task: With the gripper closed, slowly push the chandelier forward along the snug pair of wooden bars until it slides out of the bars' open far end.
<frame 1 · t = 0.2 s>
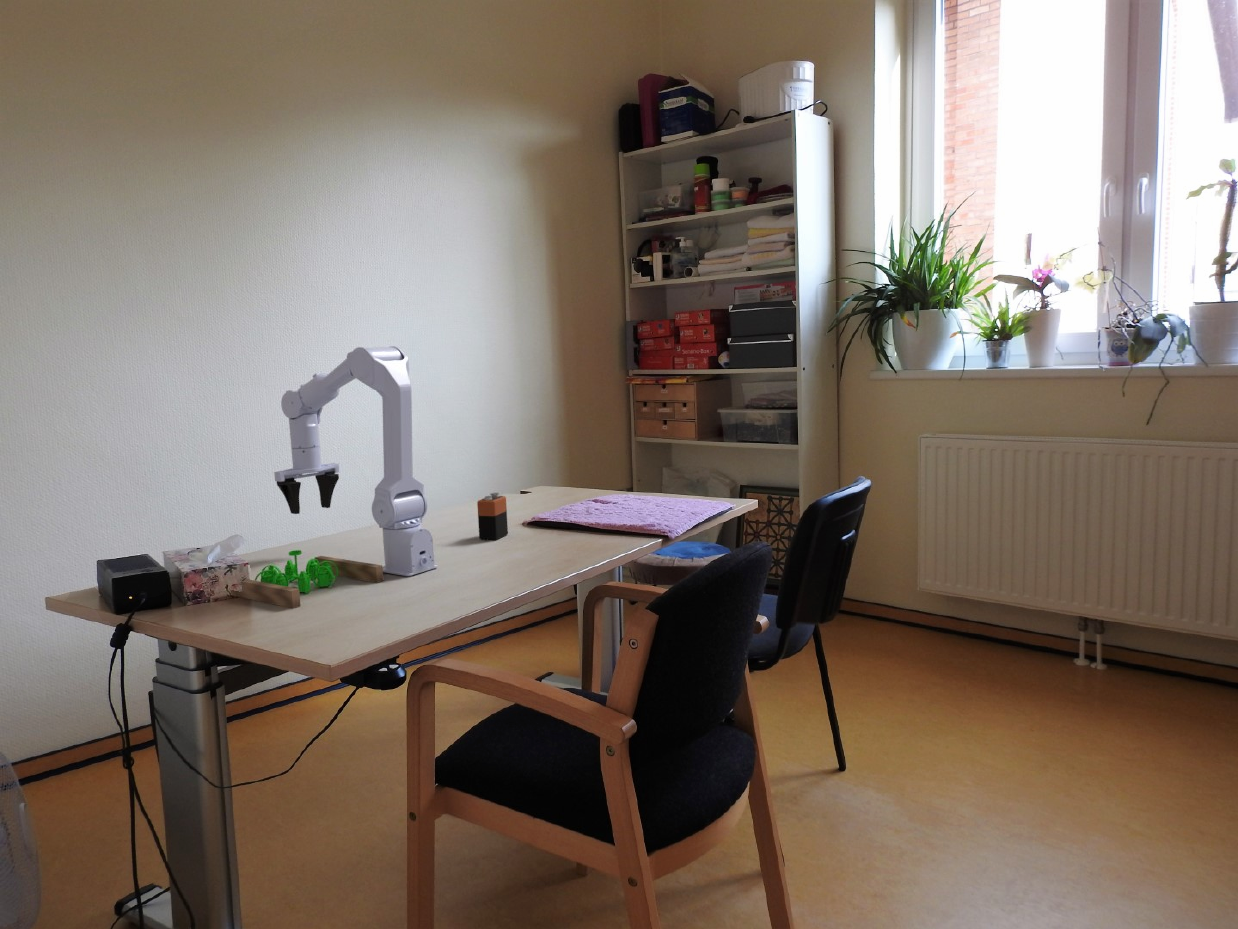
hand: (310, 510, 192), 10 cm above the table, fingers open, 7 cm apart
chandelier: (298, 588, 169), on the table
battery: (493, 538, 206), on the table
pair of wooden bars: (308, 587, 167), on the table
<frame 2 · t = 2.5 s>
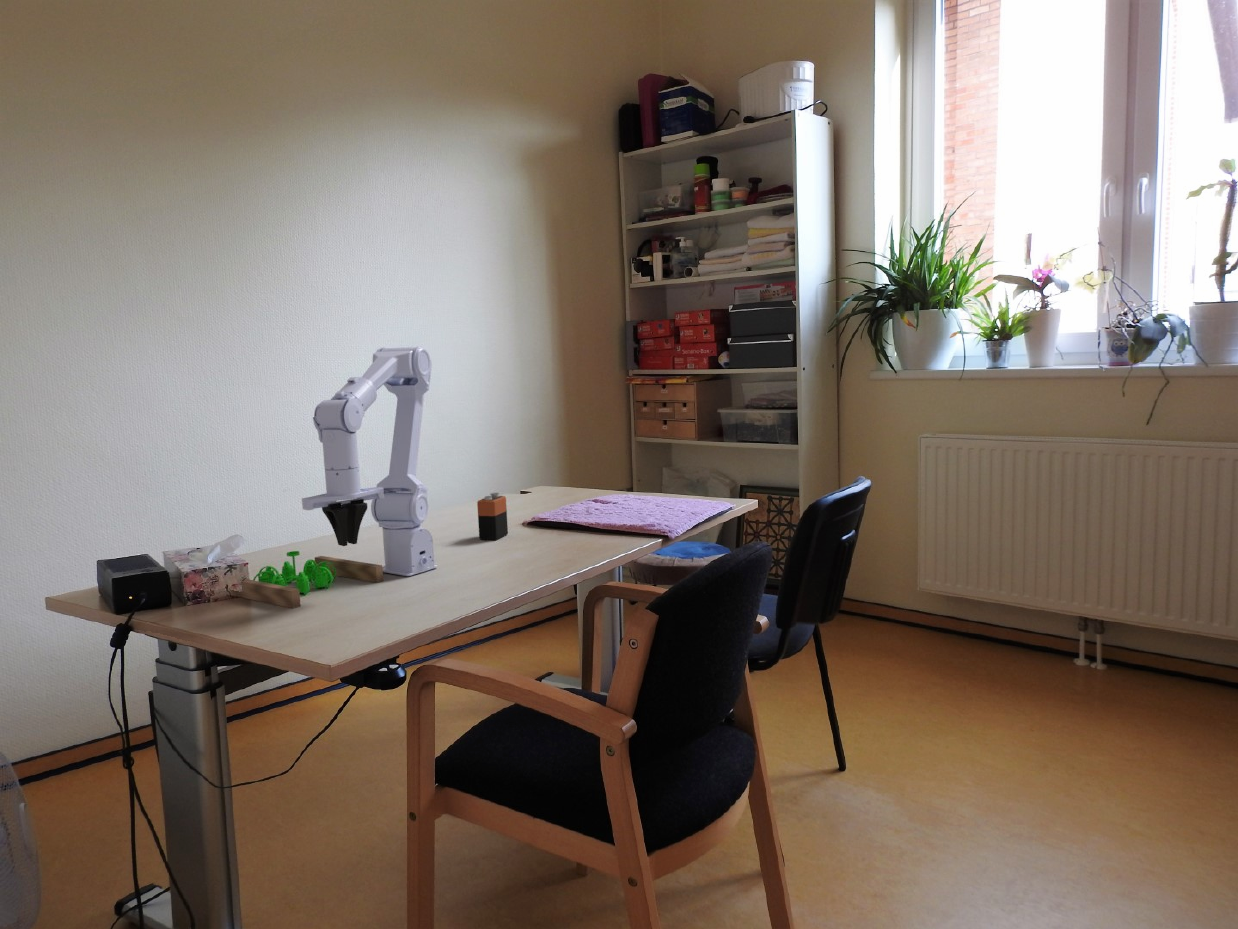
hand: (347, 544, 159), 9 cm above the table, fingers closed
nothing on the table moved.
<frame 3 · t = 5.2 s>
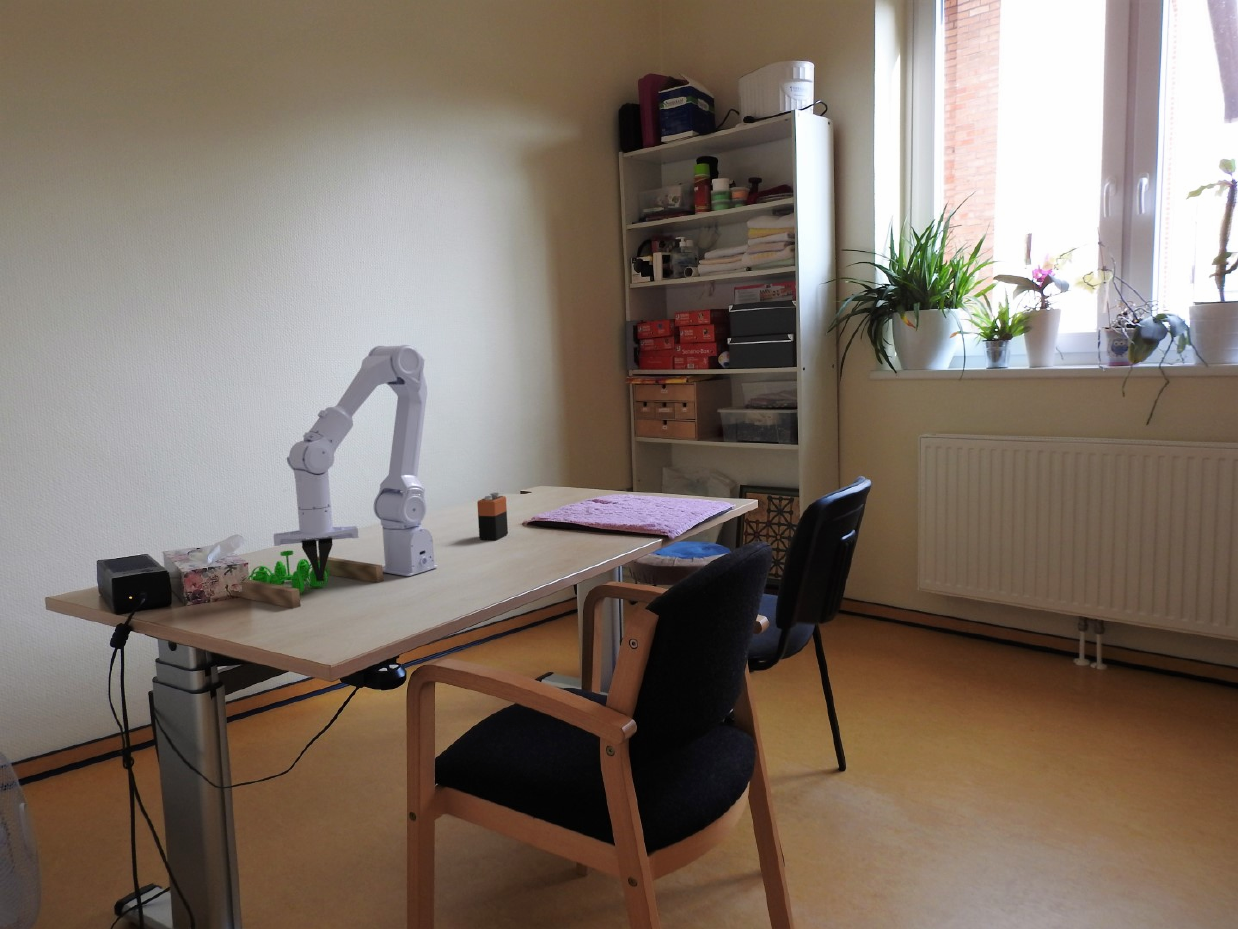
hand: (320, 580, 165), 2 cm above the table, fingers closed
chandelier: (290, 589, 168), on the table, touching gripper
everything else where it was.
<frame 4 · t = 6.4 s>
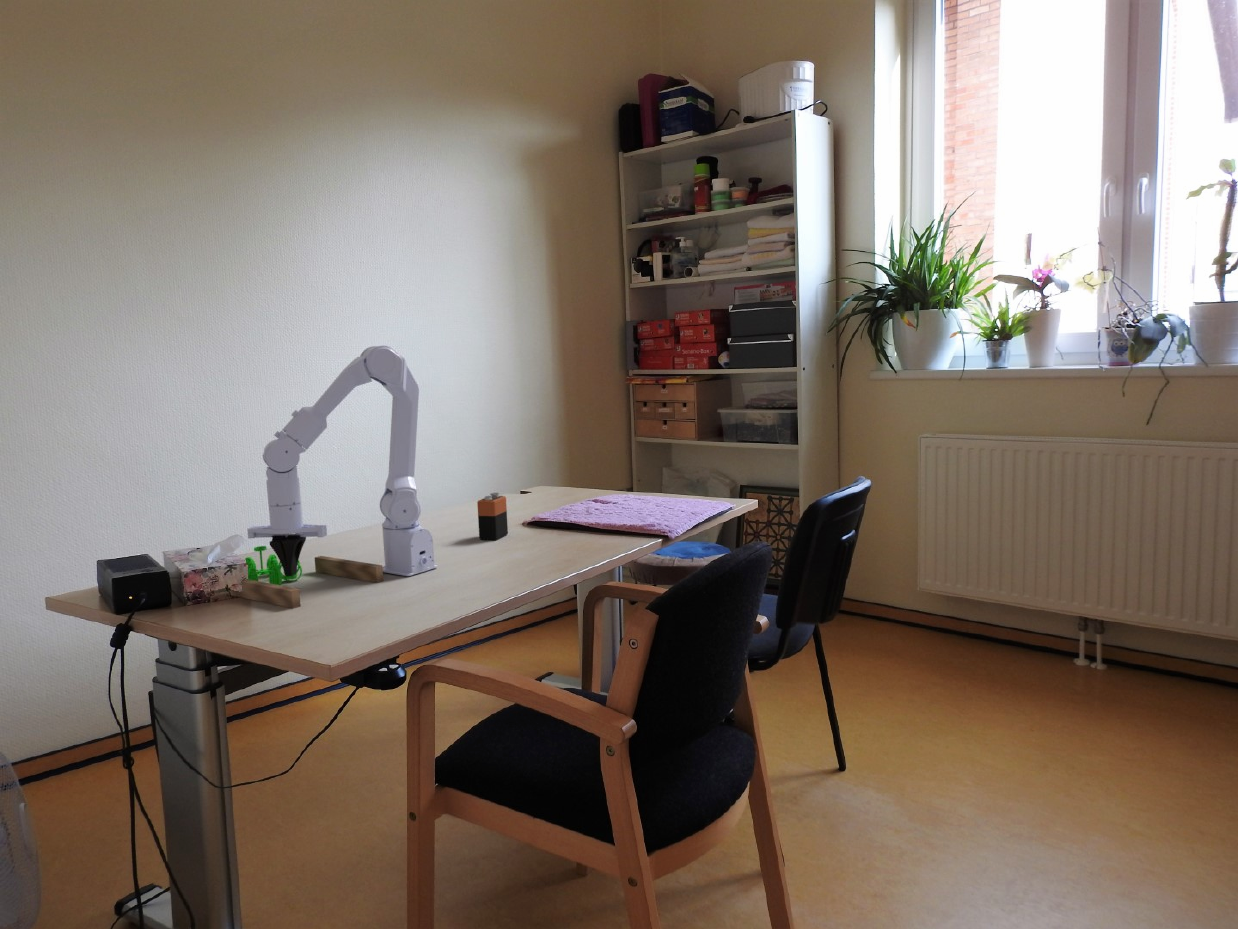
hand: (290, 574, 170), 2 cm above the table, fingers closed
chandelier: (263, 583, 173), on the table, touching gripper
everything else where it was.
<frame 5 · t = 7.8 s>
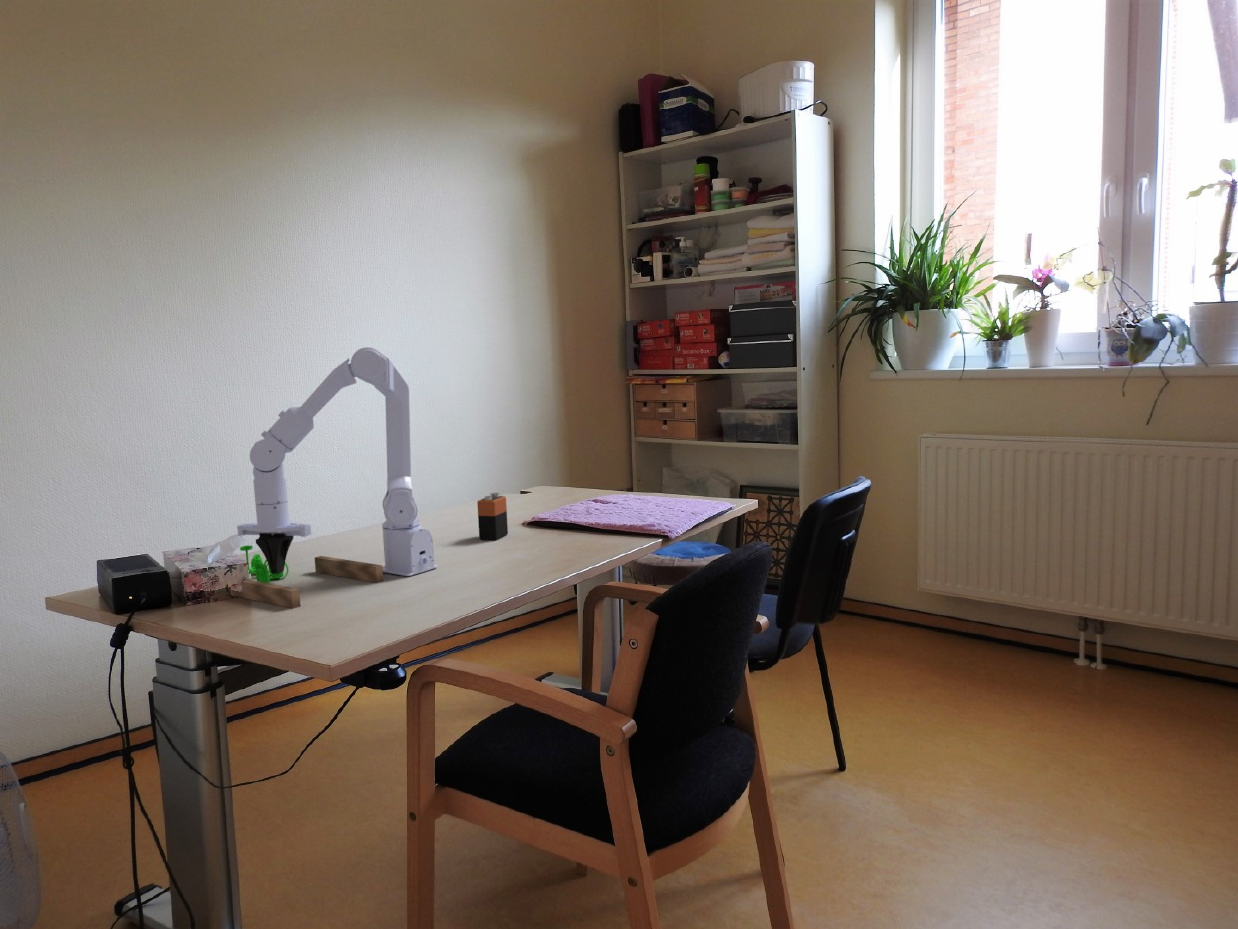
hand: (277, 572, 172), 2 cm above the table, fingers closed
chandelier: (249, 582, 174), on the table
everything else where it was.
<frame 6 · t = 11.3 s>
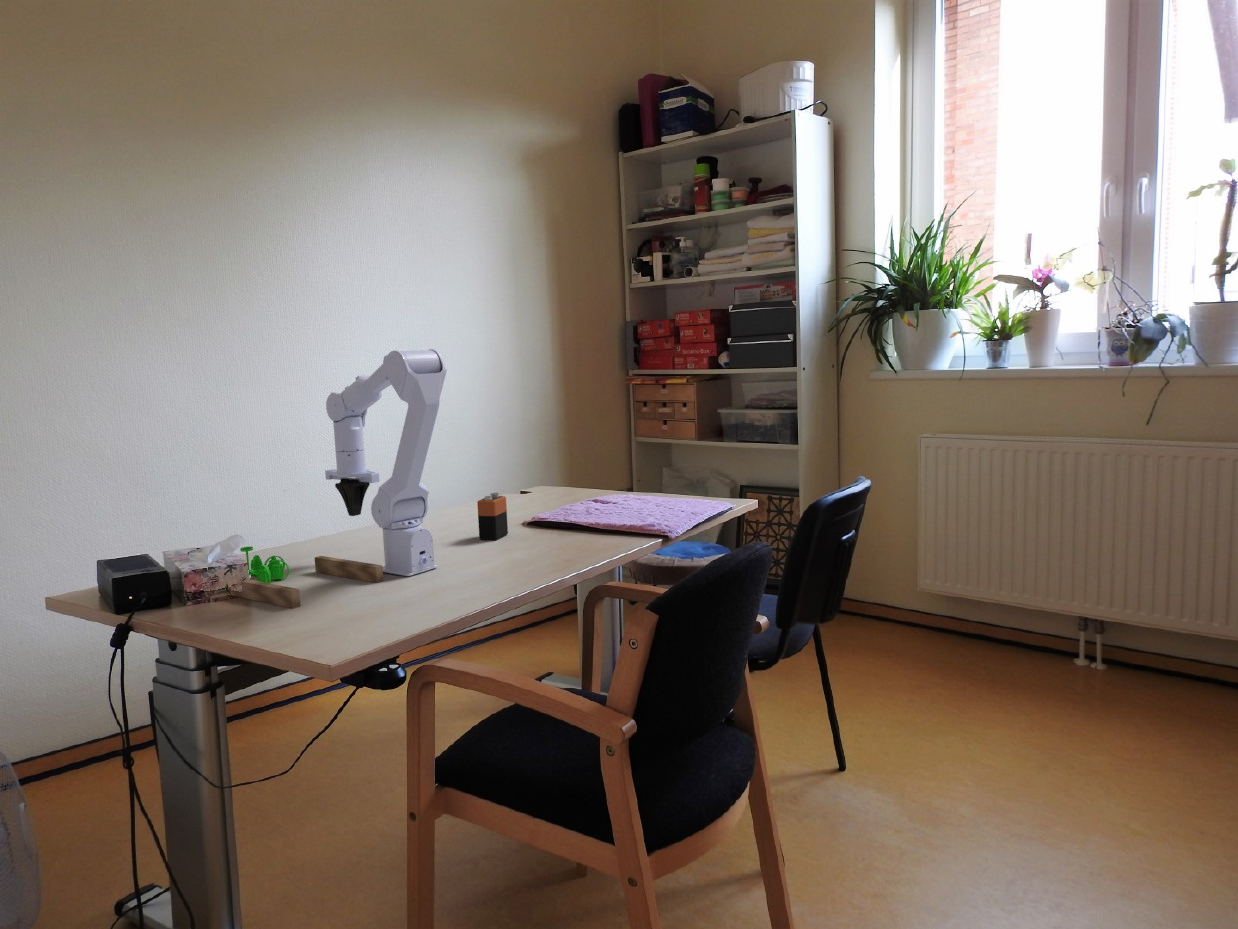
hand: (354, 515, 188), 9 cm above the table, fingers closed
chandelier: (249, 584, 173), on the table
everything else where it was.
at the end: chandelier inside the target area (4.8 cm from its centre), on the table; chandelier moved 12.0 cm from its start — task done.
